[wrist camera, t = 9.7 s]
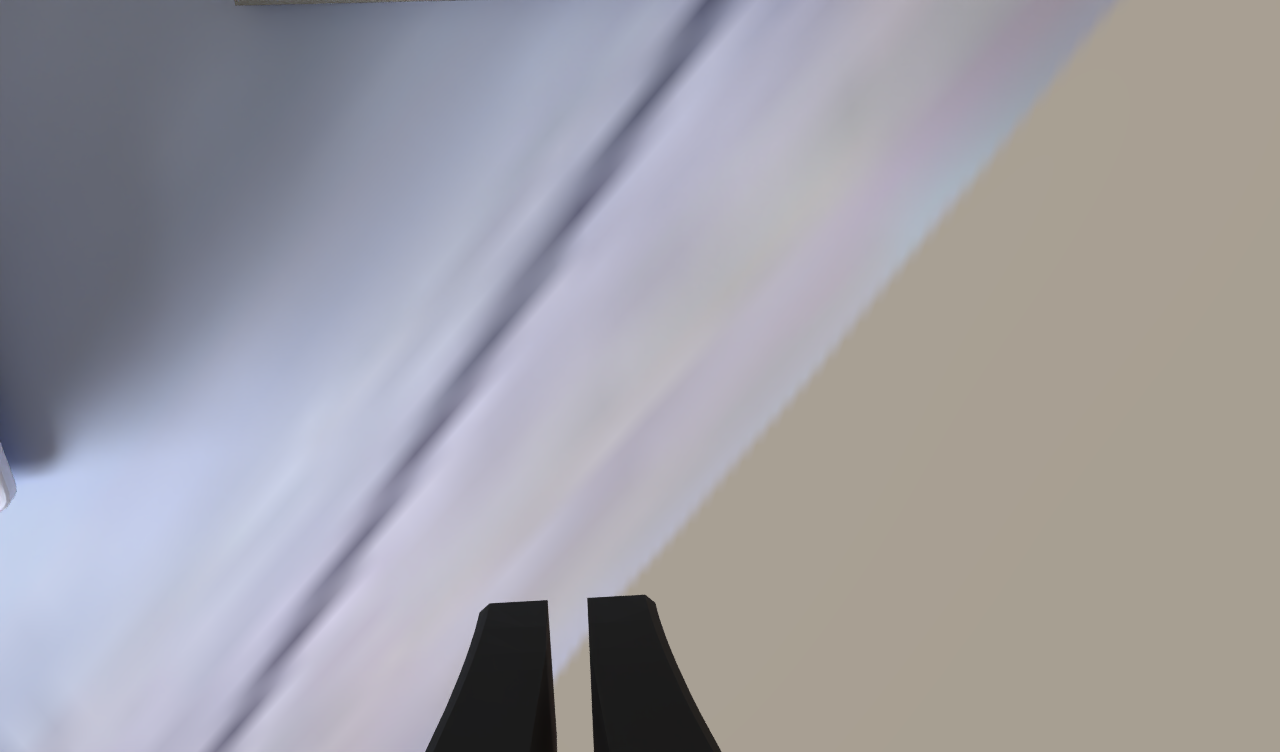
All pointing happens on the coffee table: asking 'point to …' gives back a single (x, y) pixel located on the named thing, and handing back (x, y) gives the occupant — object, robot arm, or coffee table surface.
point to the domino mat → (315, 1)
